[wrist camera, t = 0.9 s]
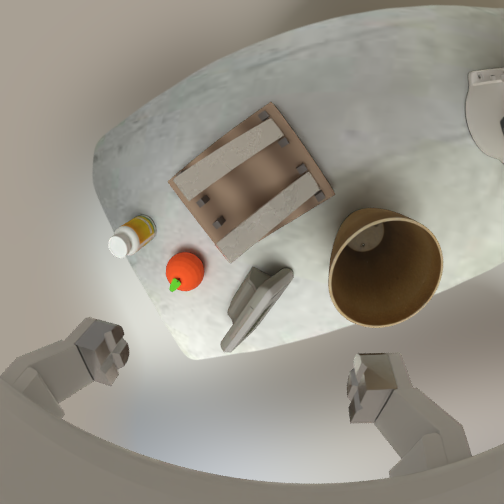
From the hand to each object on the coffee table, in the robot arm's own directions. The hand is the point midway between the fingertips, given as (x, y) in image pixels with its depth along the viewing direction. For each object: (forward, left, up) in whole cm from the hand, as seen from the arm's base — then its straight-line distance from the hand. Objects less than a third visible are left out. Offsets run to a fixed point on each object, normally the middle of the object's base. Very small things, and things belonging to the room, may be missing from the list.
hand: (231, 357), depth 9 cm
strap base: (+5, -2, -37) cm, 38 cm away
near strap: (+3, -7, -28) cm, 29 cm away
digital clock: (+16, +16, -38) cm, 44 cm away
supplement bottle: (+27, -7, -38) cm, 47 cm away
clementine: (+24, +4, -38) cm, 45 cm away
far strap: (+4, +2, -29) cm, 29 cm away
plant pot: (-6, +15, -38) cm, 41 cm away
